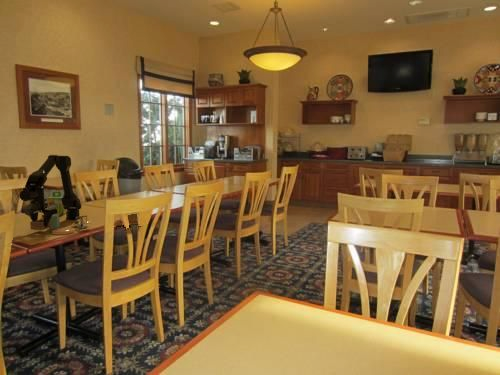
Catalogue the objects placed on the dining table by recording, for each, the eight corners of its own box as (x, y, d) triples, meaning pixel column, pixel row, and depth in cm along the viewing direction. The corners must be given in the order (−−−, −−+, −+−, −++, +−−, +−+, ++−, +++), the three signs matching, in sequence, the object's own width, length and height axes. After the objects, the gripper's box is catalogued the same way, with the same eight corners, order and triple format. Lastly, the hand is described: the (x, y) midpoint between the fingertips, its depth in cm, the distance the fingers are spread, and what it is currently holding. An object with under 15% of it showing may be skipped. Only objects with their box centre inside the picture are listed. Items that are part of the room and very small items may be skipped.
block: (52, 226, 211) (51, 214, 210) (59, 226, 211) (58, 214, 210) (49, 228, 207) (48, 216, 206) (57, 228, 208) (56, 216, 206)
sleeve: (40, 226, 204) (40, 219, 203) (50, 227, 202) (50, 220, 201) (30, 229, 198) (30, 222, 197) (40, 230, 196) (40, 223, 195)
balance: (70, 226, 212) (69, 213, 211) (78, 224, 216) (77, 211, 215) (85, 230, 203) (84, 216, 202) (93, 228, 208) (93, 215, 206)
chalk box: (48, 216, 237) (46, 193, 235) (51, 213, 246) (50, 190, 243) (64, 215, 239) (62, 192, 237) (67, 212, 248) (65, 190, 246)
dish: (68, 228, 208) (68, 226, 208) (79, 231, 202) (79, 229, 201) (48, 232, 199) (48, 230, 199) (59, 236, 193) (59, 234, 192)
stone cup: (140, 221, 225) (139, 197, 222) (143, 226, 214) (142, 200, 212) (113, 223, 219) (112, 198, 216) (115, 228, 208) (114, 202, 206)
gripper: (11, 199, 192) (13, 228, 195) (40, 201, 187) (42, 231, 189) (29, 195, 203) (31, 223, 205) (57, 197, 198) (59, 226, 200)
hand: (40, 226), depth 200 cm, fingers closed on sleeve, 6 cm apart
